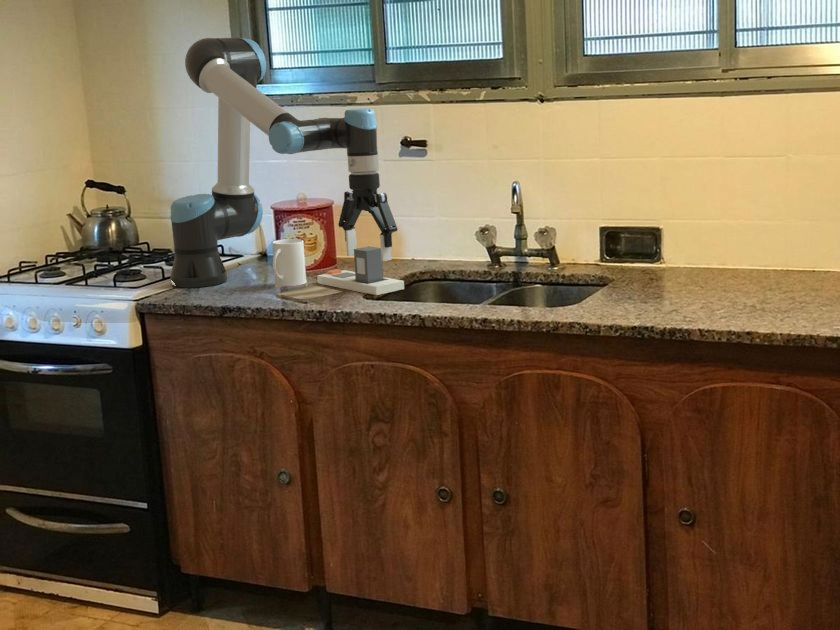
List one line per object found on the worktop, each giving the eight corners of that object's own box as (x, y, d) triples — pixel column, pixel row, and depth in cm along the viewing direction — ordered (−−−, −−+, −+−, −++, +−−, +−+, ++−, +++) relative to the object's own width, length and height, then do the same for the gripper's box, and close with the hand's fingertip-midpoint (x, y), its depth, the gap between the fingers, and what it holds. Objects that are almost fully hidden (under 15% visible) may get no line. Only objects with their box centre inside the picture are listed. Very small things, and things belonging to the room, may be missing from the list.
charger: (355, 288, 261) (353, 249, 259) (371, 284, 264) (369, 246, 262) (368, 290, 257) (366, 251, 255) (383, 287, 261) (381, 248, 258)
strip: (304, 284, 274) (303, 269, 273) (331, 278, 280) (330, 264, 279) (376, 298, 252) (375, 283, 252) (404, 292, 258) (403, 277, 257)
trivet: (276, 297, 259) (275, 293, 259) (314, 289, 267) (314, 285, 267) (304, 304, 250) (304, 300, 250) (343, 295, 258) (343, 291, 258)
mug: (286, 293, 264) (283, 246, 261) (260, 291, 268) (256, 245, 265) (313, 284, 274) (310, 239, 271) (288, 282, 278) (284, 238, 275)
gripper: (321, 172, 261) (327, 255, 266) (384, 176, 243) (390, 264, 247) (344, 169, 266) (350, 251, 270) (408, 172, 248) (413, 260, 252)
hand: (369, 258), depth 259 cm, fingers open, 13 cm apart
